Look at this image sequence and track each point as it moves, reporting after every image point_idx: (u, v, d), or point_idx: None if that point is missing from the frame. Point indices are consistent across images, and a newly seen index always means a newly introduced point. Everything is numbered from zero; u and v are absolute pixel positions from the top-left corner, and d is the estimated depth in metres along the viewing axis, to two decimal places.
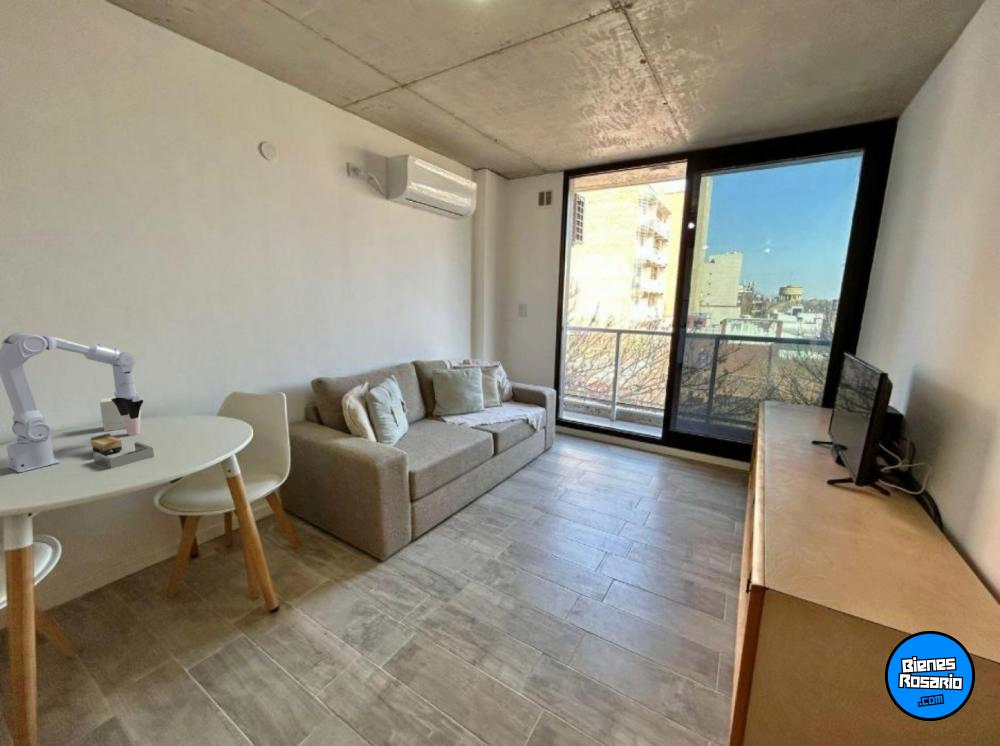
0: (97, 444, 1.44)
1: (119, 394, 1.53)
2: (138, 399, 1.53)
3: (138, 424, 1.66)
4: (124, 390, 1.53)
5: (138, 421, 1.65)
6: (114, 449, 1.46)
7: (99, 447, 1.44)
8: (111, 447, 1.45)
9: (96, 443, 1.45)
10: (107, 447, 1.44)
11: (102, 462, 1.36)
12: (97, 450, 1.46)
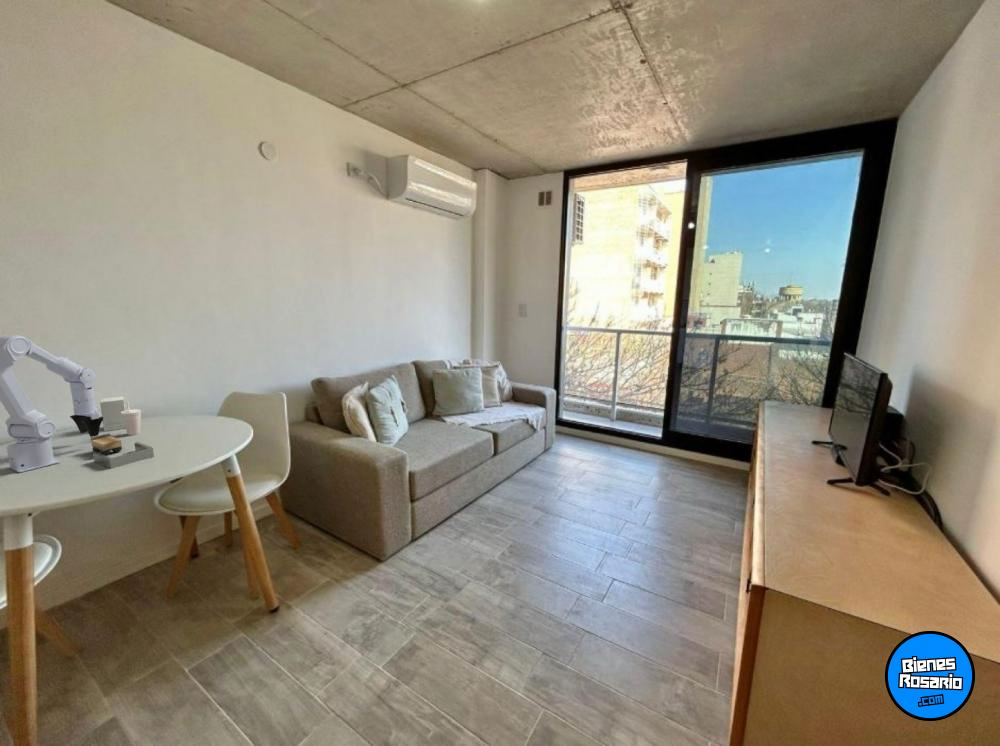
0: (97, 444, 1.44)
1: (77, 411, 1.48)
2: (97, 416, 1.48)
3: (138, 424, 1.66)
4: (83, 407, 1.48)
5: (138, 421, 1.65)
6: (114, 449, 1.46)
7: (99, 447, 1.44)
8: (111, 447, 1.45)
9: (96, 443, 1.45)
10: (107, 447, 1.44)
11: (102, 462, 1.36)
12: (97, 450, 1.46)
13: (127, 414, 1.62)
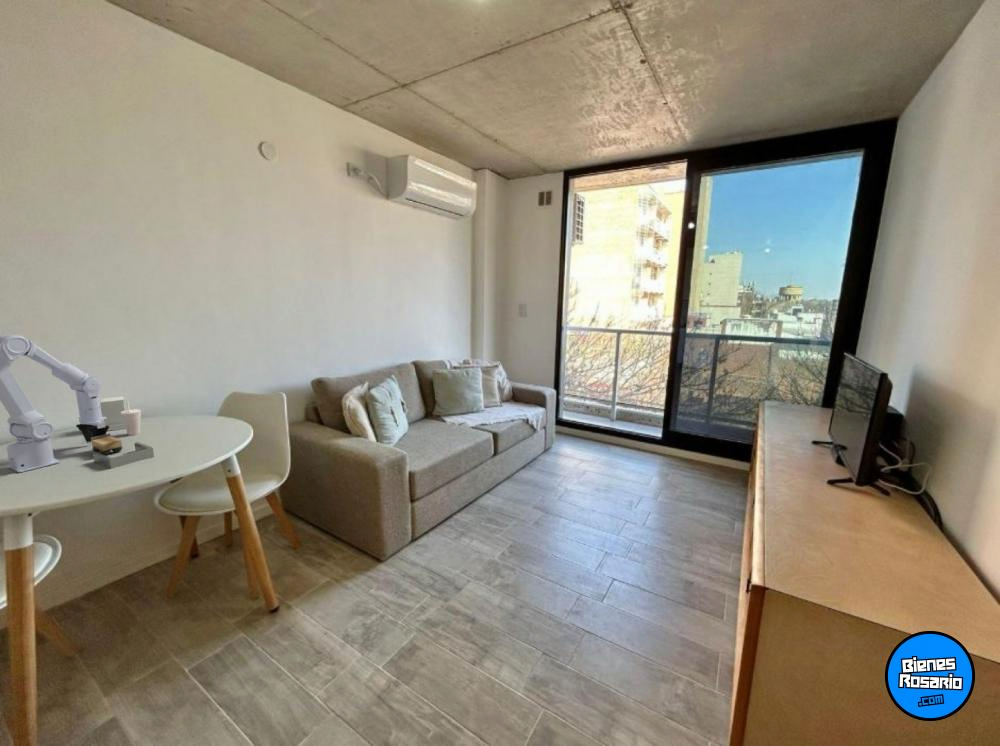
0: (97, 444, 1.44)
1: (83, 420, 1.46)
2: (103, 425, 1.47)
3: (138, 424, 1.66)
4: (89, 416, 1.47)
5: (138, 421, 1.65)
6: (114, 449, 1.46)
7: (99, 447, 1.44)
8: (111, 447, 1.45)
9: (96, 443, 1.45)
10: (107, 447, 1.44)
11: (102, 462, 1.36)
12: (97, 450, 1.46)
13: (127, 414, 1.62)
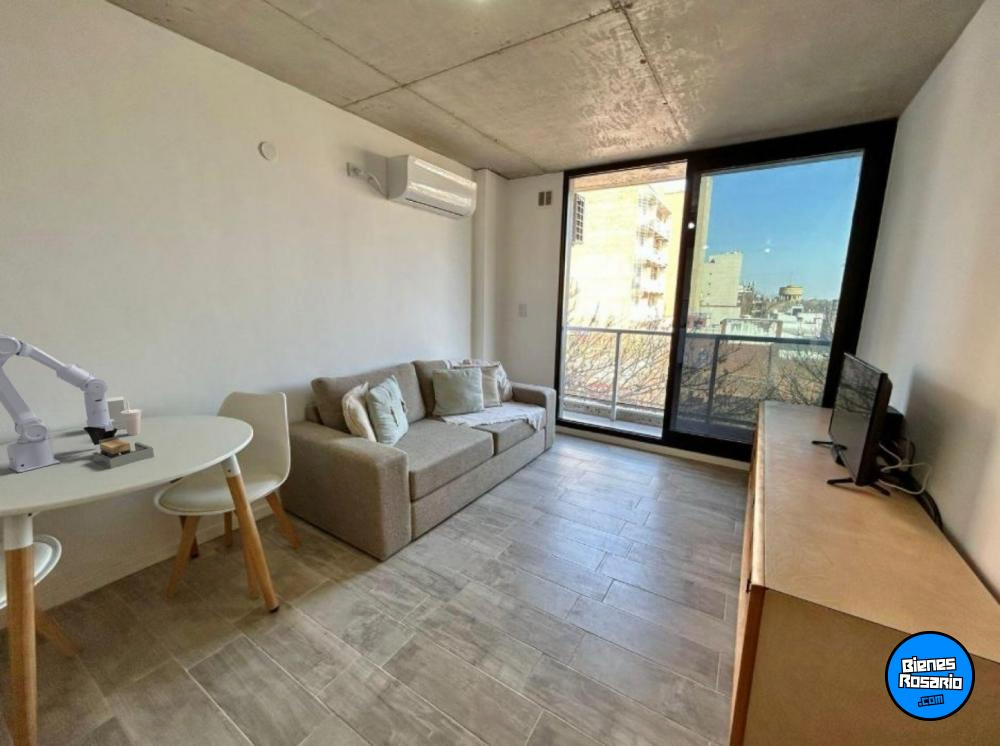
0: (106, 447, 1.42)
1: (91, 423, 1.44)
2: (111, 428, 1.45)
3: (138, 424, 1.66)
4: (97, 419, 1.44)
5: (138, 421, 1.65)
6: (123, 452, 1.44)
7: (108, 450, 1.41)
8: (120, 450, 1.43)
9: (104, 446, 1.42)
10: (116, 450, 1.41)
11: (102, 462, 1.36)
12: (105, 453, 1.43)
13: (127, 414, 1.62)
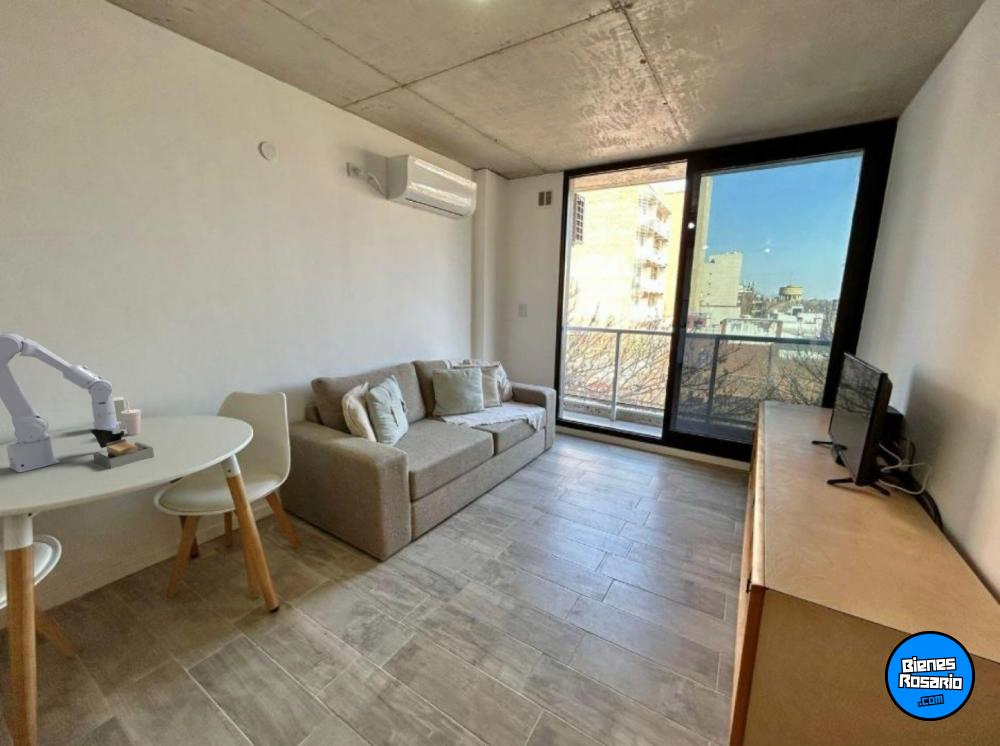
0: (113, 450, 1.40)
1: (98, 426, 1.42)
2: (119, 431, 1.42)
3: (138, 424, 1.66)
4: (104, 421, 1.42)
5: (138, 421, 1.65)
6: None
7: (115, 453, 1.39)
8: (127, 453, 1.40)
9: (112, 449, 1.40)
10: (123, 453, 1.39)
11: (102, 462, 1.36)
12: (113, 456, 1.41)
13: (127, 414, 1.62)
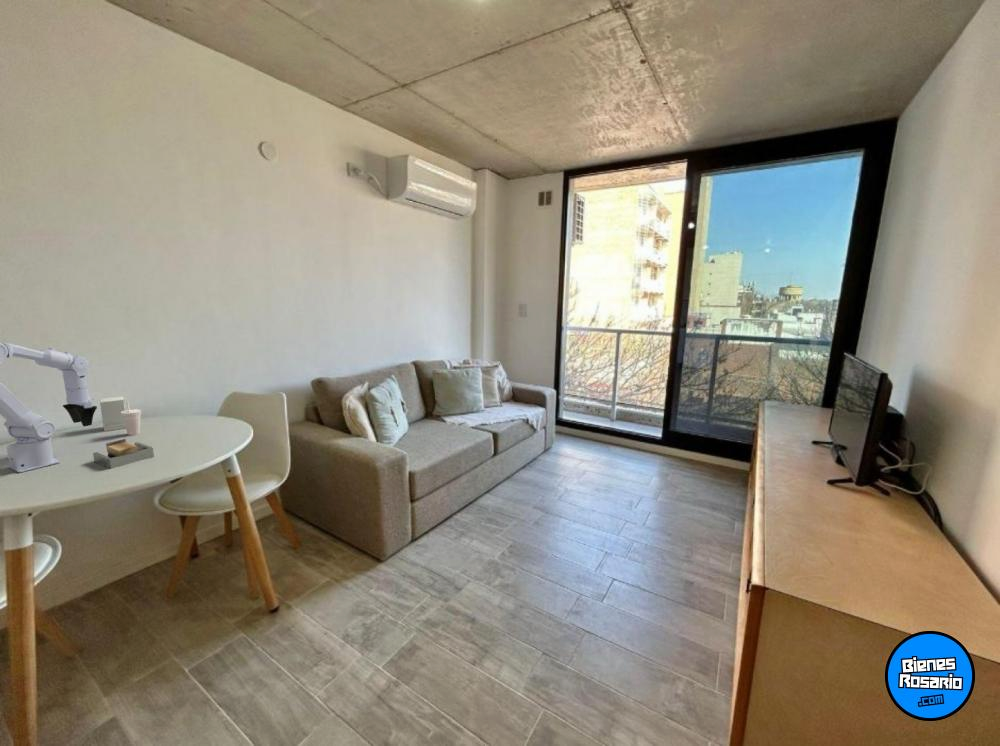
0: (113, 450, 1.40)
1: (70, 400, 1.44)
2: (90, 405, 1.45)
3: (138, 424, 1.66)
4: (76, 396, 1.44)
5: (138, 421, 1.65)
6: None
7: (115, 453, 1.39)
8: (127, 453, 1.40)
9: (112, 449, 1.40)
10: (123, 453, 1.39)
11: (102, 462, 1.36)
12: (113, 456, 1.41)
13: (127, 414, 1.62)
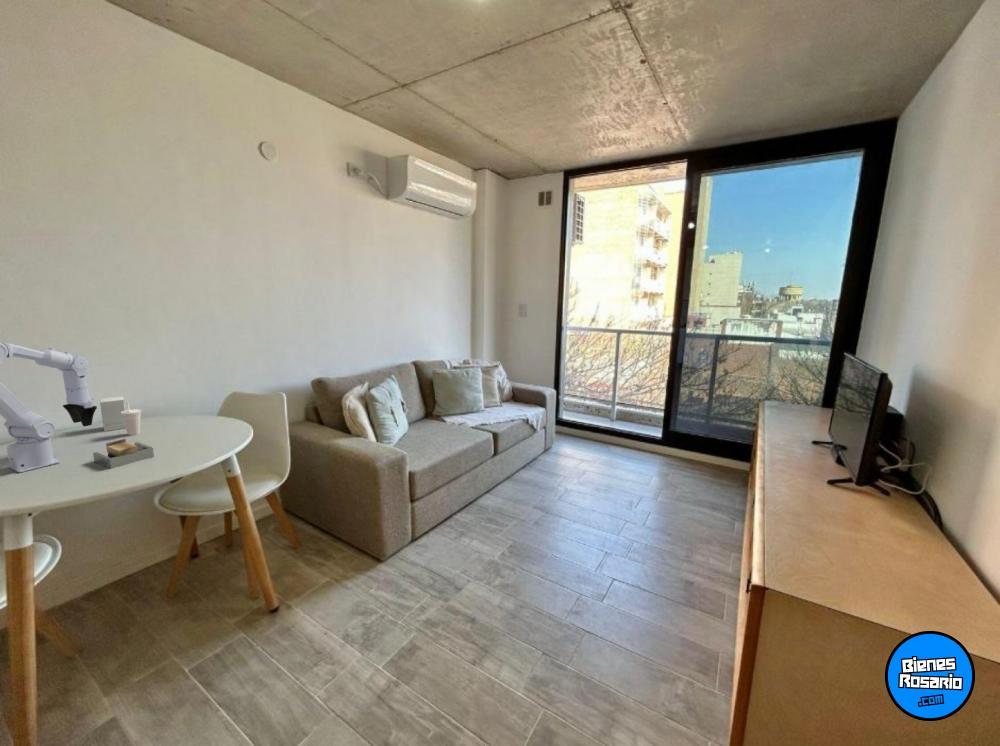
0: (113, 450, 1.40)
1: (70, 400, 1.44)
2: (90, 405, 1.45)
3: (138, 424, 1.66)
4: (76, 396, 1.44)
5: (138, 421, 1.65)
6: None
7: (115, 453, 1.39)
8: (127, 453, 1.40)
9: (112, 449, 1.40)
10: (123, 453, 1.39)
11: (102, 462, 1.36)
12: (113, 456, 1.41)
13: (127, 414, 1.62)
